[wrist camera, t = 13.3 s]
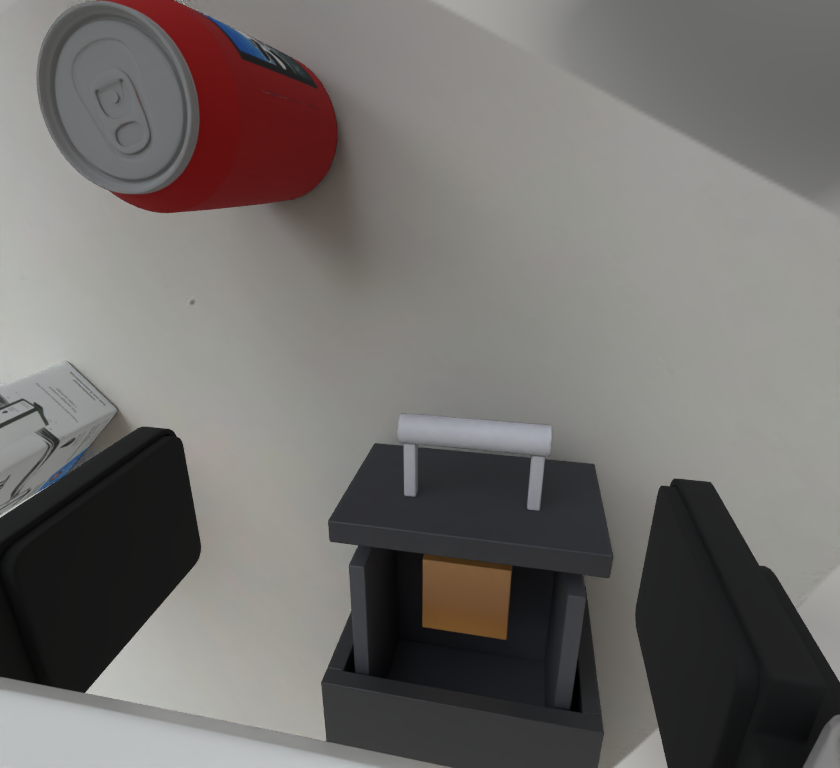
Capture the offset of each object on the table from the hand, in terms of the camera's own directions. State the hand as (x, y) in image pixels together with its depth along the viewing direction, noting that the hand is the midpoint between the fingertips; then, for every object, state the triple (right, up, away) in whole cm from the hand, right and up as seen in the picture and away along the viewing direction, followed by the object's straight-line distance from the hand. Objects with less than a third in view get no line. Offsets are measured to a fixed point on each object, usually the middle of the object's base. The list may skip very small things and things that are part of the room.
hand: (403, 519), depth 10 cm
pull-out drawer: (+4, -6, +23) cm, 24 cm away
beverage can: (-7, +16, +18) cm, 24 cm away
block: (+4, -7, +22) cm, 23 cm away
